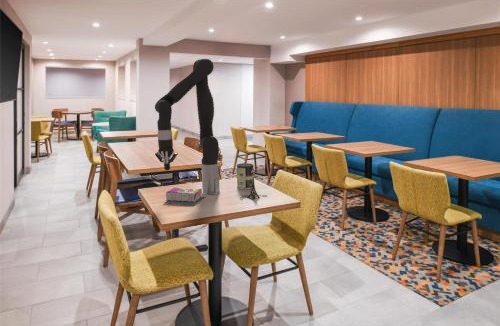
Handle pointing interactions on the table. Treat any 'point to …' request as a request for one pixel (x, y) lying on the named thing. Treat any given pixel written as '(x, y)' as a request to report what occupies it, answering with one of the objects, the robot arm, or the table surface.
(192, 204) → the place mat
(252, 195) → the eiffel tower figurine
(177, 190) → the candy bar box
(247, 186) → the coffee can
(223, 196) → the table surface
